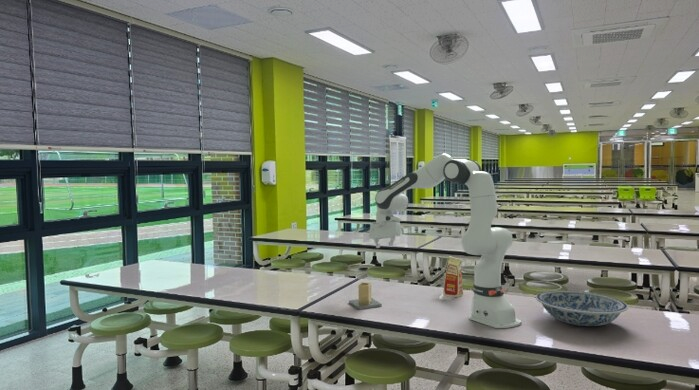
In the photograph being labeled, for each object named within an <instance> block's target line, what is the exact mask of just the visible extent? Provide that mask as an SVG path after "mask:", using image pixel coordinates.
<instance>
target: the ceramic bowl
mask: <svg viewBox="0 0 699 390" xmlns="http://www.w3.org/2000/svg"><path fill="white" fill-rule="evenodd" d="M535 299H536V301H537V302H538V303H540V304H541V305H542V306H543V308H544V309H545V310H546V311H545V312H547V313H548V314H549V315H550V316H552V318H555V320H558V321H560V322H563V323H565V324H571V325H574V326H580V327H582V326H583V327H598V326H603V325H607V324H610V323H612V322H613V321H615V320H616V319H617V318H618V317H619V316H620V315H621V313H624V312H626V311H627V310H628V309H629V305H628V304H627V303H626V302H624V301H622V300H620V299H617V298H616V297H615V298H614V297H612V296H607V295H604V294H599V293H594V292H593V293H592V292H586V291H578V290H549V291H543V292H540V293H537V294H536V295H535Z"/></svg>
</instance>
